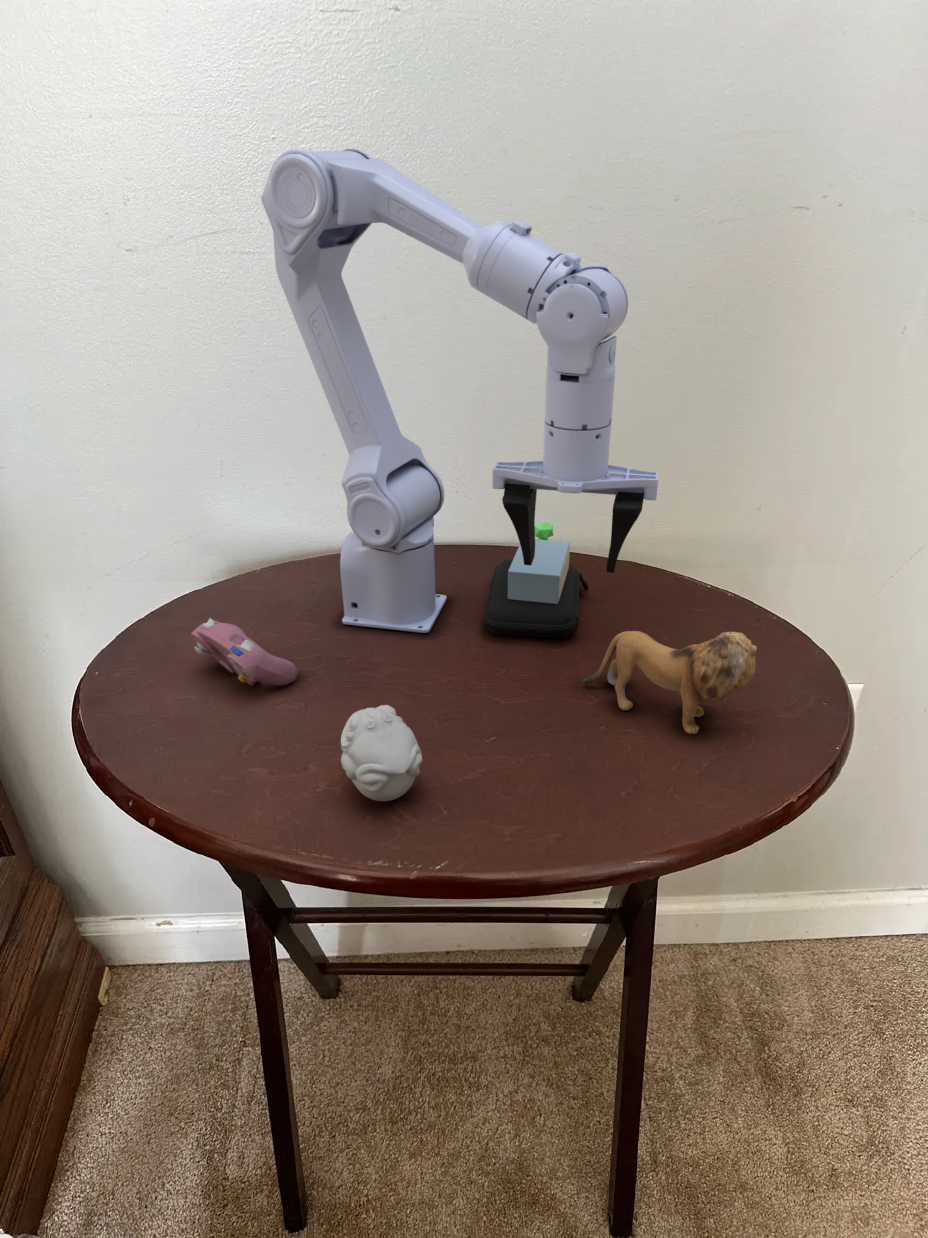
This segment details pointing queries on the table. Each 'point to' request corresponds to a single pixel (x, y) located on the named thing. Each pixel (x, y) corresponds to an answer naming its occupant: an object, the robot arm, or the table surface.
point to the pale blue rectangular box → (540, 573)
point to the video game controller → (242, 654)
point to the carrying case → (532, 608)
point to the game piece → (543, 531)
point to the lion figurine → (681, 669)
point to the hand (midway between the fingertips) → (569, 564)
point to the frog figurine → (380, 753)
